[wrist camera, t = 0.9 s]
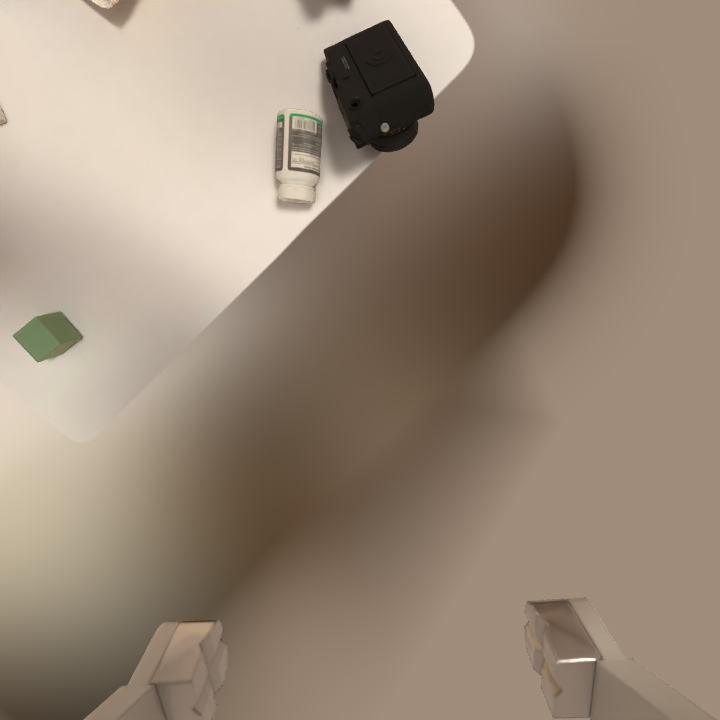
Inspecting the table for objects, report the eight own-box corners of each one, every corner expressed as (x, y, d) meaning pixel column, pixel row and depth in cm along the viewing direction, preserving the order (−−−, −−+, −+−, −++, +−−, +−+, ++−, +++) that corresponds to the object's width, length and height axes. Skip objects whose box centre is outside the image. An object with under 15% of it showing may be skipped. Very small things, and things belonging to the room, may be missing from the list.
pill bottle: (291, 122, 45) (287, 202, 47) (268, 107, 41) (265, 196, 43) (330, 122, 44) (324, 205, 46) (310, 107, 39) (305, 199, 42)
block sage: (38, 329, 51) (12, 335, 47) (60, 311, 51) (35, 316, 47) (61, 354, 52) (37, 362, 48) (83, 336, 51) (60, 344, 48)
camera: (395, 77, 46) (331, 106, 47) (383, 4, 40) (309, 40, 41) (441, 157, 40) (366, 189, 41) (435, 86, 34) (347, 125, 35)
